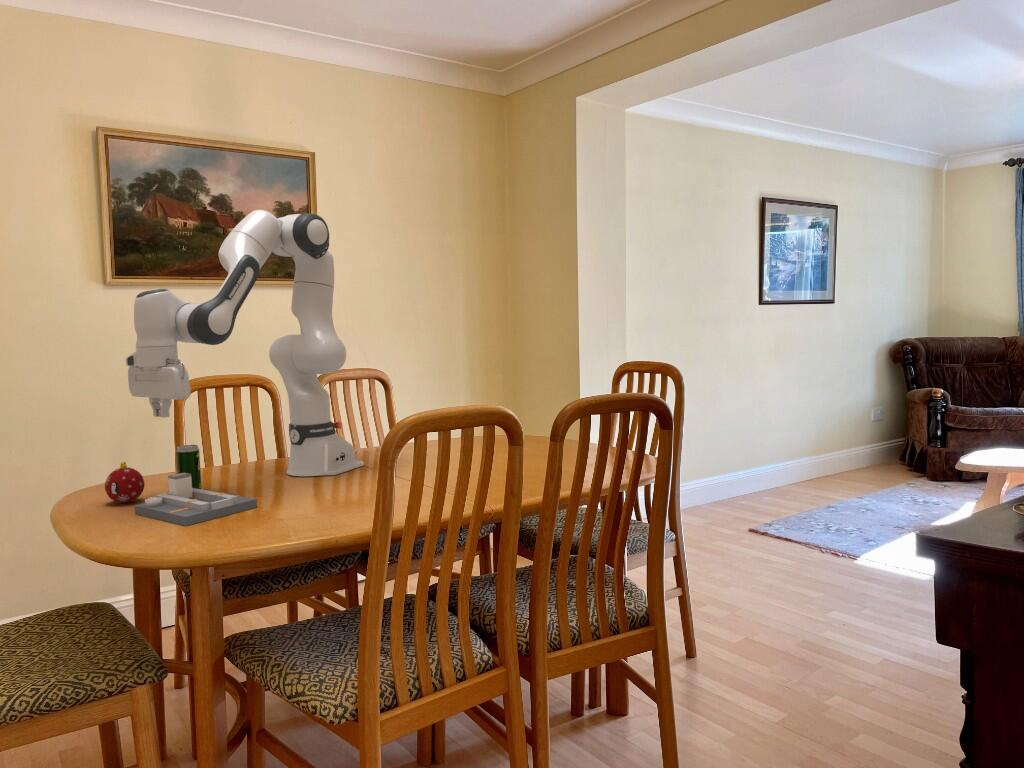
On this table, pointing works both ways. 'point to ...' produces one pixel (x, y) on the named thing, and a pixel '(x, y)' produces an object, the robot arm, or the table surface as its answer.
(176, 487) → the fader tab
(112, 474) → the christmas ornament
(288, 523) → the table surface
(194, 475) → the beer can
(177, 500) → the console
